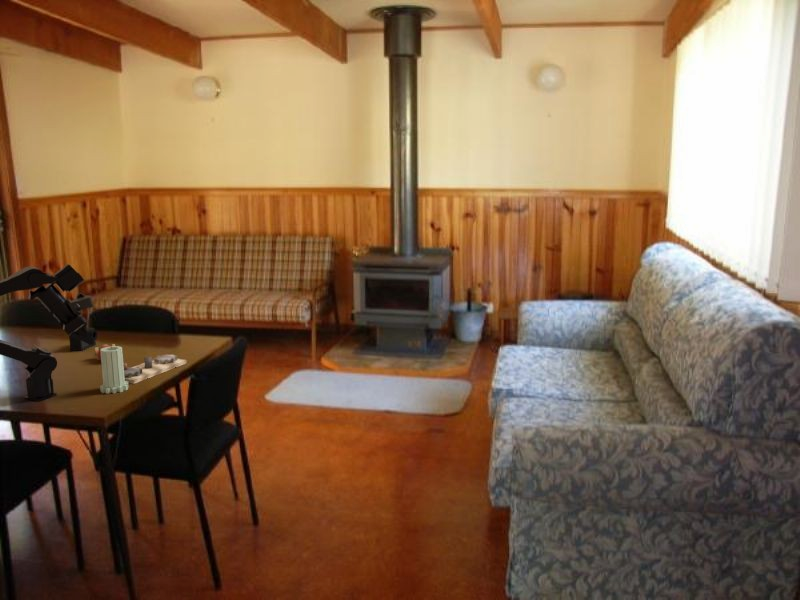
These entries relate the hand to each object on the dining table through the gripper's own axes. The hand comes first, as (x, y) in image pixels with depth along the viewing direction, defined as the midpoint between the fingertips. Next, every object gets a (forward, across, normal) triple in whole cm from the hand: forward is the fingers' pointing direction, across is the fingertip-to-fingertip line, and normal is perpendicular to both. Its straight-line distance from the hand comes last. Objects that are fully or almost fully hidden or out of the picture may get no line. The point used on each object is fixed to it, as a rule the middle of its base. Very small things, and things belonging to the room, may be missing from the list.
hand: (90, 341), depth 207 cm
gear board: (+22, +11, -7) cm, 26 cm away
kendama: (+17, +36, +1) cm, 40 cm away
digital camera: (+14, +55, +5) cm, 56 cm away
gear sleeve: (+16, -4, +4) cm, 17 cm away
